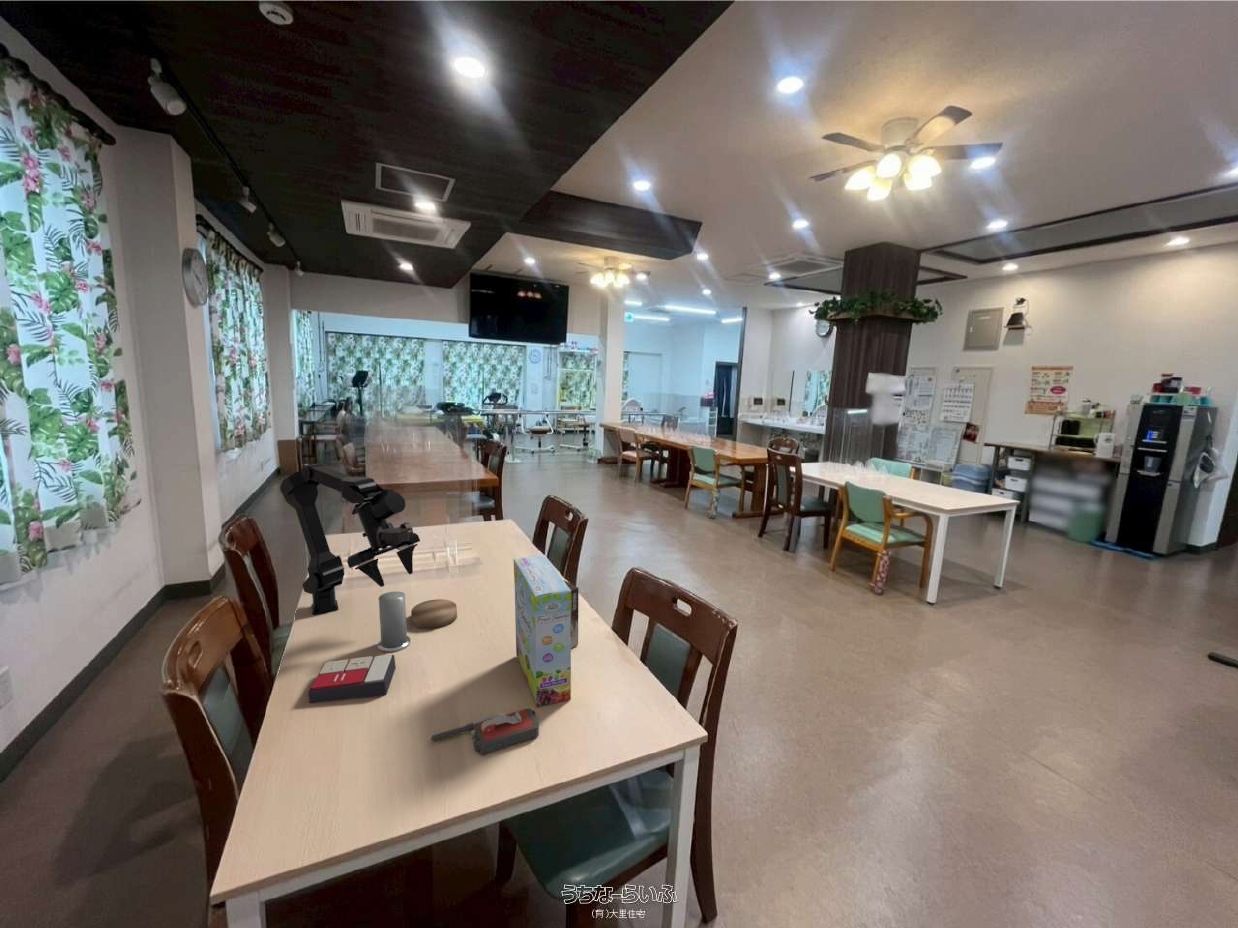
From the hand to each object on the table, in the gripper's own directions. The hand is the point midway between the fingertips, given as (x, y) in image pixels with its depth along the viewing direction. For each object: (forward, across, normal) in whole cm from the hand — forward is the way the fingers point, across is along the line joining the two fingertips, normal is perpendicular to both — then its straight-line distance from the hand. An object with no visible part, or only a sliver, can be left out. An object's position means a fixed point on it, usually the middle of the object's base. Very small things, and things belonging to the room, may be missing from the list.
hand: (397, 579), depth 134 cm
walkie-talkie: (+35, -21, -34) cm, 53 cm away
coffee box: (+32, +13, -30) cm, 45 cm away
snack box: (+33, 0, -33) cm, 47 cm away
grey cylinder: (+15, -5, +3) cm, 16 cm away
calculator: (+18, -21, -1) cm, 28 cm away
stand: (+14, +10, +4) cm, 18 cm away
